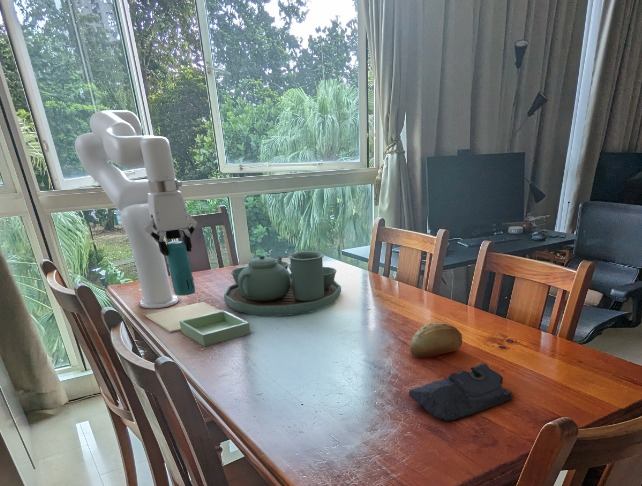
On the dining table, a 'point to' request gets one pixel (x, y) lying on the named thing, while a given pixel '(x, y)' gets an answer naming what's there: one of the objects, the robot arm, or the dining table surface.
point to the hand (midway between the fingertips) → (176, 252)
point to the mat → (180, 315)
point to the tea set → (283, 285)
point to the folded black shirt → (462, 393)
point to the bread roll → (435, 340)
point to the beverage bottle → (179, 265)
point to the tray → (214, 327)
